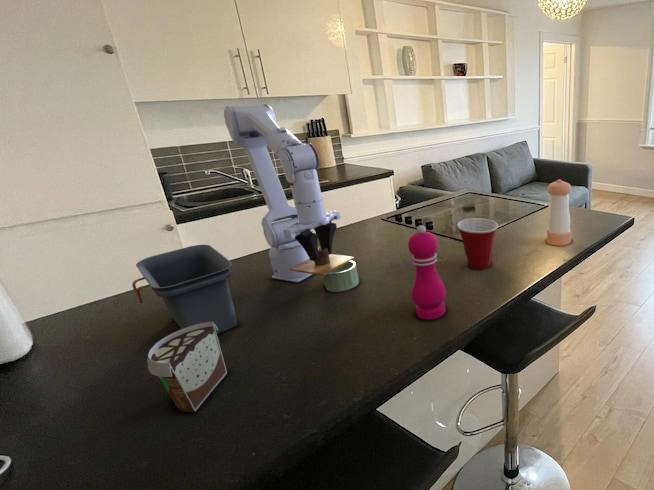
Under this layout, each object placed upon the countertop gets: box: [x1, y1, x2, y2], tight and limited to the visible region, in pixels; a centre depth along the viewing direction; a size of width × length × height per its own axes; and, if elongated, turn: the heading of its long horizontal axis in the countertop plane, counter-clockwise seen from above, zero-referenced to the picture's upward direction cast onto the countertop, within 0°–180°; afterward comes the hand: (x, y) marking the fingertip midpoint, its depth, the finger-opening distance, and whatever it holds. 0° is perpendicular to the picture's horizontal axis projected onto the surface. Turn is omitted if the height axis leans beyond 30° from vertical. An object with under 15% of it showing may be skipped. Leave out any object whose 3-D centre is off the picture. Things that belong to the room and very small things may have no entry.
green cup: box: [322, 260, 360, 293], centre depth 103 cm, size 8×8×5 cm
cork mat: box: [290, 245, 355, 277], centre depth 95 cm, size 10×10×4 cm
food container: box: [146, 322, 228, 413], centre depth 66 cm, size 12×6×10 cm, turn 5°
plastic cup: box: [456, 217, 499, 270], centre depth 109 cm, size 11×11×12 cm
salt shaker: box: [546, 178, 573, 246], centre depth 121 cm, size 7×7×19 cm
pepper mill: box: [407, 224, 447, 321], centre depth 85 cm, size 7×7×20 cm
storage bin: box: [131, 244, 238, 335], centre depth 86 cm, size 21×16×14 cm
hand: (321, 257), depth 95 cm, fingers closed on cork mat, 3 cm apart
